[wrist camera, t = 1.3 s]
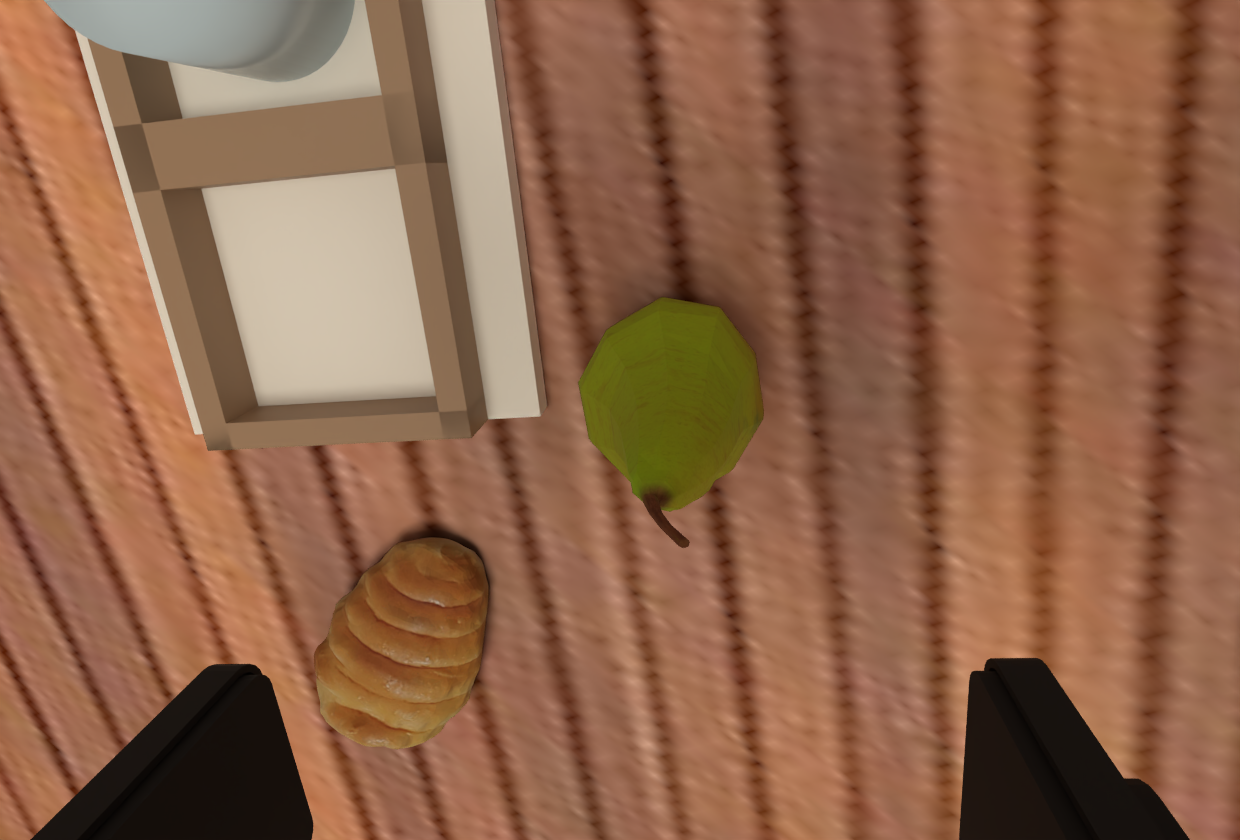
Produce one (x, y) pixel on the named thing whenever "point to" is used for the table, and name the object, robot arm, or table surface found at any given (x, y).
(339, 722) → the pastry
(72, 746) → the table surface
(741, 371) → the fruit
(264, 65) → the pale blue rounded block
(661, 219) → the table surface
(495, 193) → the tray
